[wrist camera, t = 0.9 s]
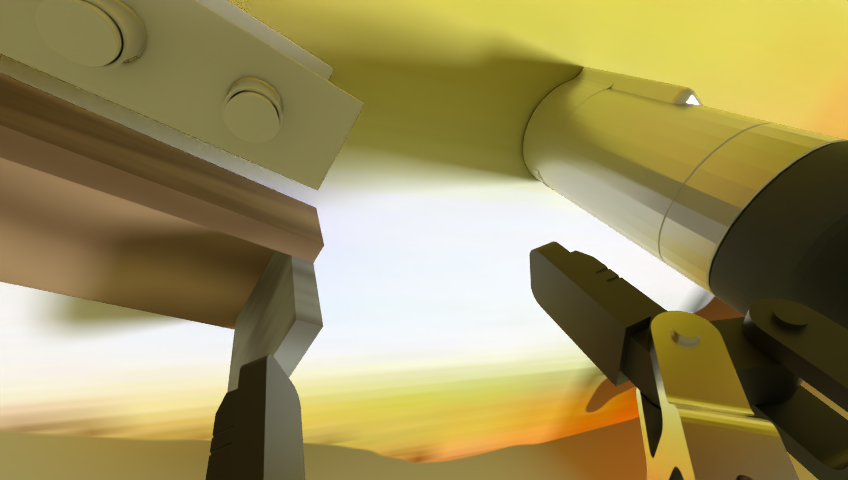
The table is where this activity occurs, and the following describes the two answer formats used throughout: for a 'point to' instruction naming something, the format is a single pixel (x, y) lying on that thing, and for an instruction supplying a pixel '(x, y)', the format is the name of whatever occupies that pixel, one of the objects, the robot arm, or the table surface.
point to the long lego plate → (193, 74)
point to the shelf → (152, 229)
